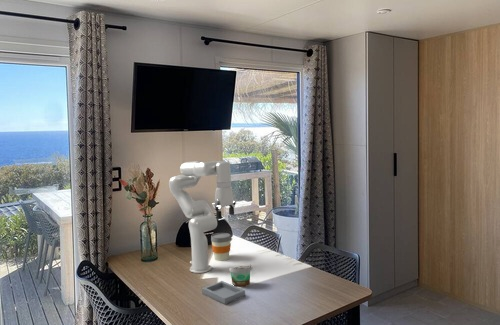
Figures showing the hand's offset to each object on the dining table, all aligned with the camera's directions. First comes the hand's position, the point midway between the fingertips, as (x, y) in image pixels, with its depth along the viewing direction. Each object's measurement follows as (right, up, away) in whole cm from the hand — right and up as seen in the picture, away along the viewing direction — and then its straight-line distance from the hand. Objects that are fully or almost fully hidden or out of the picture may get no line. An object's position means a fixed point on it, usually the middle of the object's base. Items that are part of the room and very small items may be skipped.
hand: (225, 216), depth 219 cm
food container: (+9, -36, -4) cm, 37 cm away
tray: (0, -37, -15) cm, 40 cm away
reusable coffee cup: (-5, -32, +40) cm, 52 cm away
